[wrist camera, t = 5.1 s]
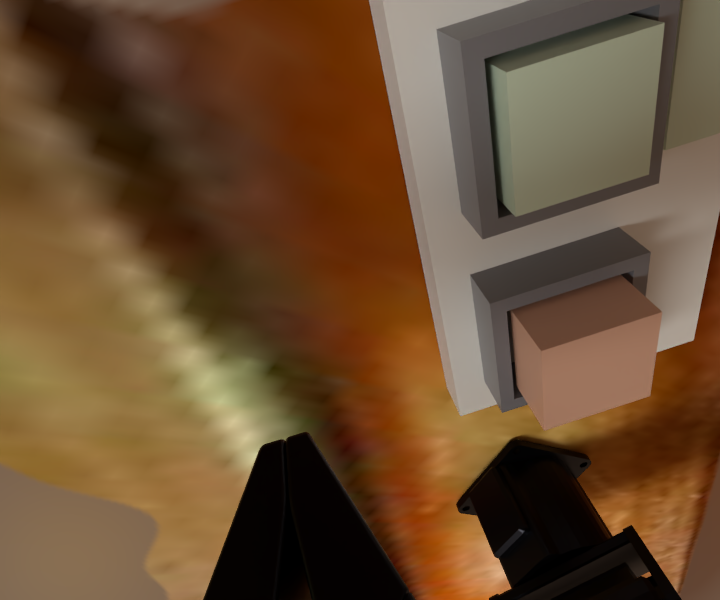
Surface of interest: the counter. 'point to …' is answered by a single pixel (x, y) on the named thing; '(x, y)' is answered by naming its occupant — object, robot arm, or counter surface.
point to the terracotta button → (585, 350)
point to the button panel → (557, 222)
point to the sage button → (574, 112)
